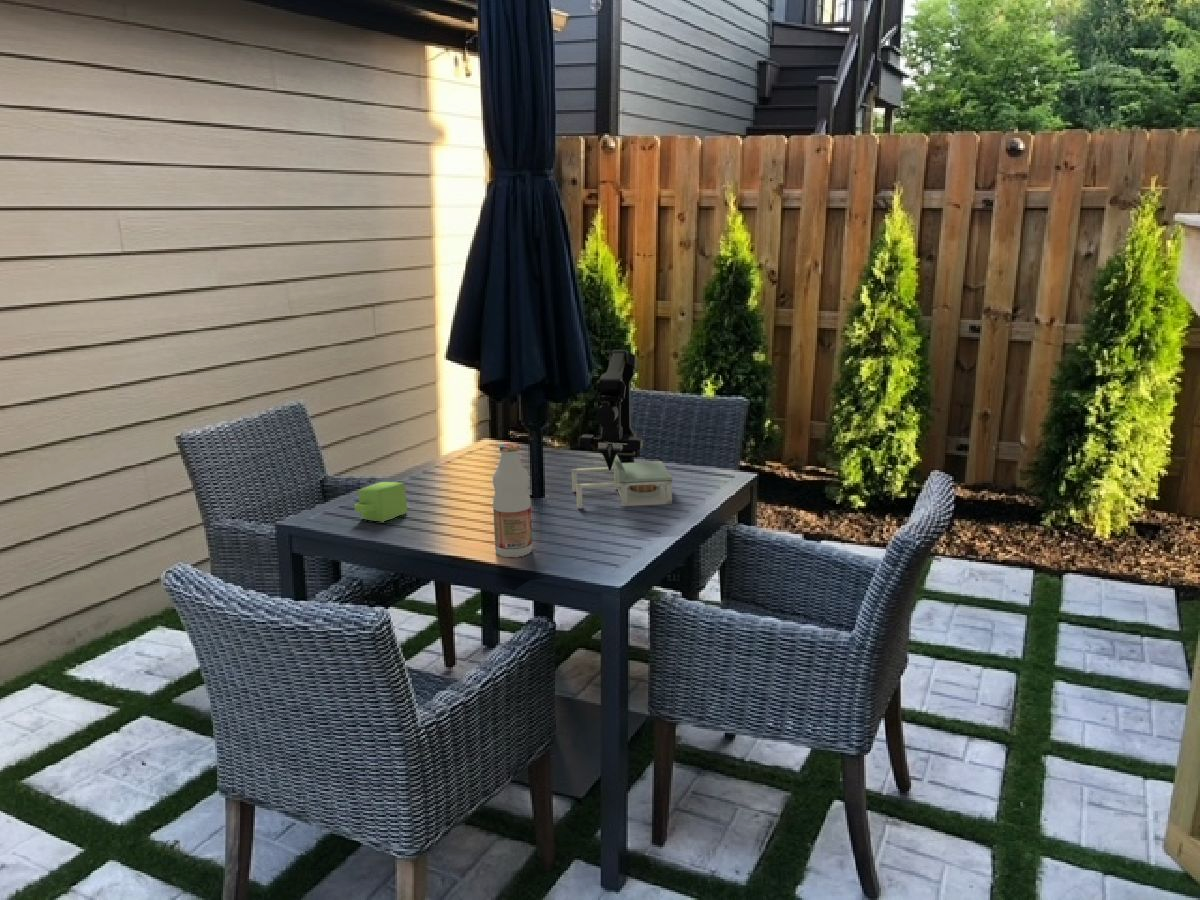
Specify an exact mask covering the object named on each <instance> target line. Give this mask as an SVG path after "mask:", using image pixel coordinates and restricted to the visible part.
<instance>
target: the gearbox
mask: <svg viewBox="0 0 1200 900" xmlns="http://www.w3.org/2000/svg"><path fill="white" fill-rule="evenodd" d="M357 492H358V503H355V504H353V507H354V512H359V513H360V519H361V518H365V519H370V520H376V521H382V522H381V523H385V522H384V521H386V520H389V519H391V518H393V517H396V516H398V515H401V514H404V513H406V512H407V513H408V505H407V504H408V503H407V494H406V484H405V483H404V482H395V481H394V482H393V481H380V482H378V483H377V482H376V483H375V484H371V485H368V486H365V487H363V488H360V489H358V491H357ZM407 513H406V514H407ZM404 515H405V514H404Z"/></svg>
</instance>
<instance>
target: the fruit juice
mask: <svg viewBox="0 0 1200 900" xmlns="http://www.w3.org/2000/svg"><path fill="white" fill-rule="evenodd" d="M520 448H521V447H520V444H518V443H512V442H510V443H503V444H500V445H499V452H500V458H499V459H500V460H499V462H498V465H497V467H496V470H495V472H494V474H493V476H492V484H493V488H494V495H493V498H492V508H493V524H494V525H493V528H494V530H493V531H494V549H495V553H496V555H498V556H499V555H500V557H502V556H504V557H503V558H508V557H515V558H520V557H519V556H522V557H524V555H526V556H527V554H528V555H529V553H530V552H532V551H533V532H532V530H533V529H532V505H531V504H532V503H531V496H530V493H529V489H528V488H529V484H530V476H529V473H528V472H527V470H526V469H525V468H524V466H523V464H522V462H521V457H520V455H519V452H520ZM530 554H531V553H530Z"/></svg>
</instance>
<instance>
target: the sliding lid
mask: <svg viewBox="0 0 1200 900" xmlns="http://www.w3.org/2000/svg"><path fill="white" fill-rule="evenodd" d="M612 467H613V469H614V471H615V474H616V476H617V478H618V480H619V482H641V481H662V480H672V481H673V476H672V475H671V473H670V472H669V470H668V469H667V467H666V466H665V464H664V463H663V461H662V460H661V461H659V460H658V461H643V462H642V461H639V462H634V463H621V462H620V460H619V458H618V456H617V455H616V457H615V460H614V463H613V465H612ZM614 471H613V472H614Z"/></svg>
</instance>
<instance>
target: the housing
mask: <svg viewBox="0 0 1200 900" xmlns="http://www.w3.org/2000/svg"><path fill="white" fill-rule="evenodd" d="M611 471H612V472H614V473H613V475H614V476H613V477H614V481H613V482H591V483H589V482H588V483H578V473H595V472H611ZM633 485H654V490H653V491H650V492H638V491H633ZM664 485H665V487H664ZM605 487H606V488H608V487H614V490H615V491H618V494H619V496H620V499H621V506H622V507H633V506H634V507H635V506H636V507H637V506H654V505H656V506H657V505H673V479H672V480H662V481H641V482H619V480H618V478H617V476H616V474H615V471H614V469H613V467H612V468H611V470H609V468H608V466H607V467H584V468H571V489H572V490H571V491H572V492H573V493H576V508H579V509H583V489H586V488H605Z"/></svg>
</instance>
